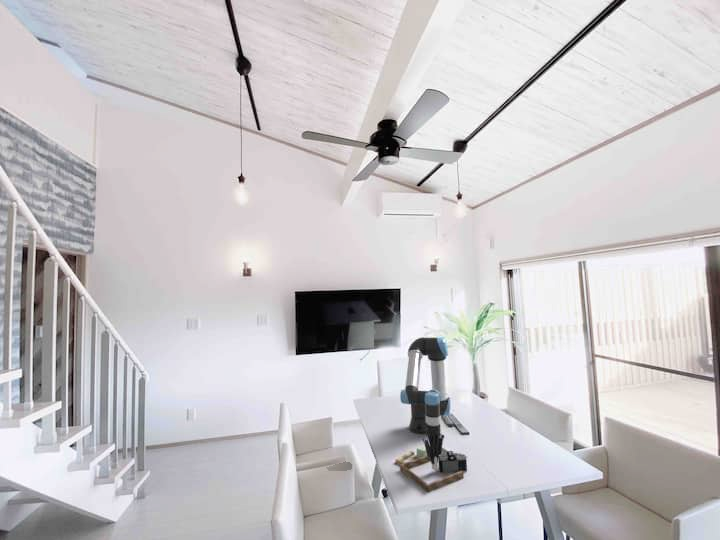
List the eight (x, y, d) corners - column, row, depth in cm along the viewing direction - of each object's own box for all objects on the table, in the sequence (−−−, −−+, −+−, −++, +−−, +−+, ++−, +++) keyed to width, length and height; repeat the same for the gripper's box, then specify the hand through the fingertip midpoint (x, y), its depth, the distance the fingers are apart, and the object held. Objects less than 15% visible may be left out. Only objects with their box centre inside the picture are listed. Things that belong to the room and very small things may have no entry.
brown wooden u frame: (434, 458, 187) (433, 453, 187) (463, 477, 167) (463, 471, 168) (400, 470, 176) (400, 464, 176) (427, 492, 156) (427, 486, 157)
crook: (412, 454, 193) (411, 450, 193) (421, 458, 188) (421, 455, 188) (395, 462, 184) (395, 459, 184) (404, 467, 179) (404, 464, 179)
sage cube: (421, 454, 193) (421, 445, 193) (429, 456, 190) (428, 447, 190) (417, 457, 189) (416, 448, 189) (424, 460, 186) (424, 451, 186)
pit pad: (440, 447, 200) (440, 446, 200) (448, 452, 194) (448, 451, 194) (429, 450, 196) (429, 449, 196) (437, 455, 190) (437, 454, 190)
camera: (464, 464, 180) (463, 445, 181) (469, 473, 171) (468, 453, 172) (435, 464, 180) (434, 446, 181) (439, 474, 171) (438, 454, 172)
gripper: (437, 418, 181) (439, 463, 179) (418, 423, 175) (420, 469, 173) (447, 423, 174) (449, 469, 173) (427, 428, 168) (429, 476, 167)
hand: (434, 469), depth 173 cm, fingers closed
